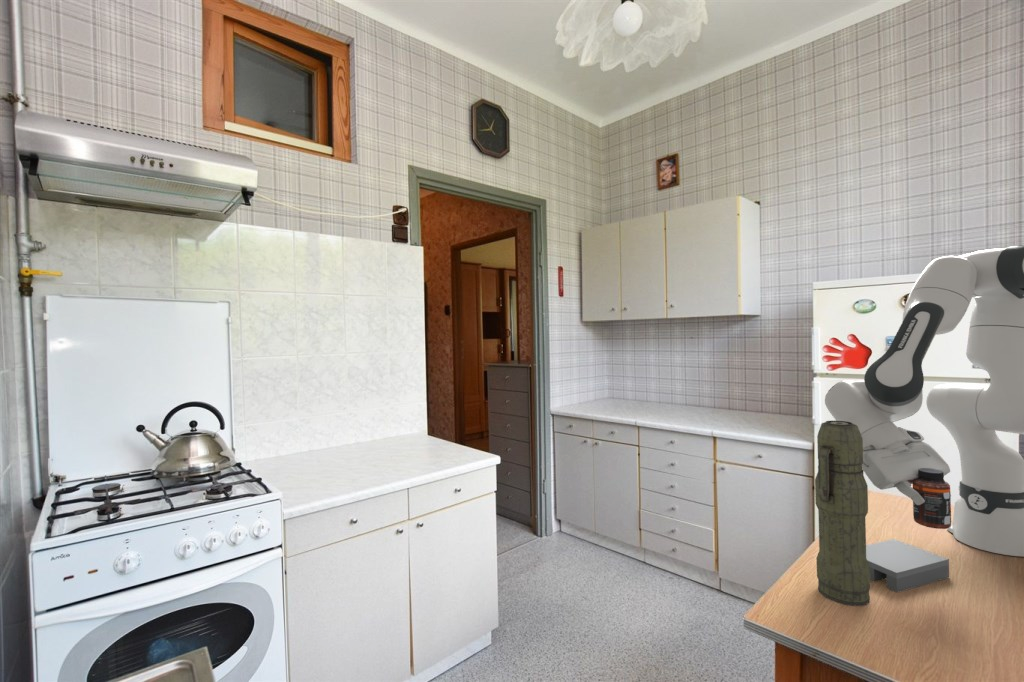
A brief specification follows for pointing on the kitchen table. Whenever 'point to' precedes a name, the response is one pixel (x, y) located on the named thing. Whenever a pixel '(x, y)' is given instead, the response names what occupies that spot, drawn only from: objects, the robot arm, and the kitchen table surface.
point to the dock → (904, 565)
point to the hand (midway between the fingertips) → (935, 500)
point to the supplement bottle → (932, 499)
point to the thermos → (842, 515)
